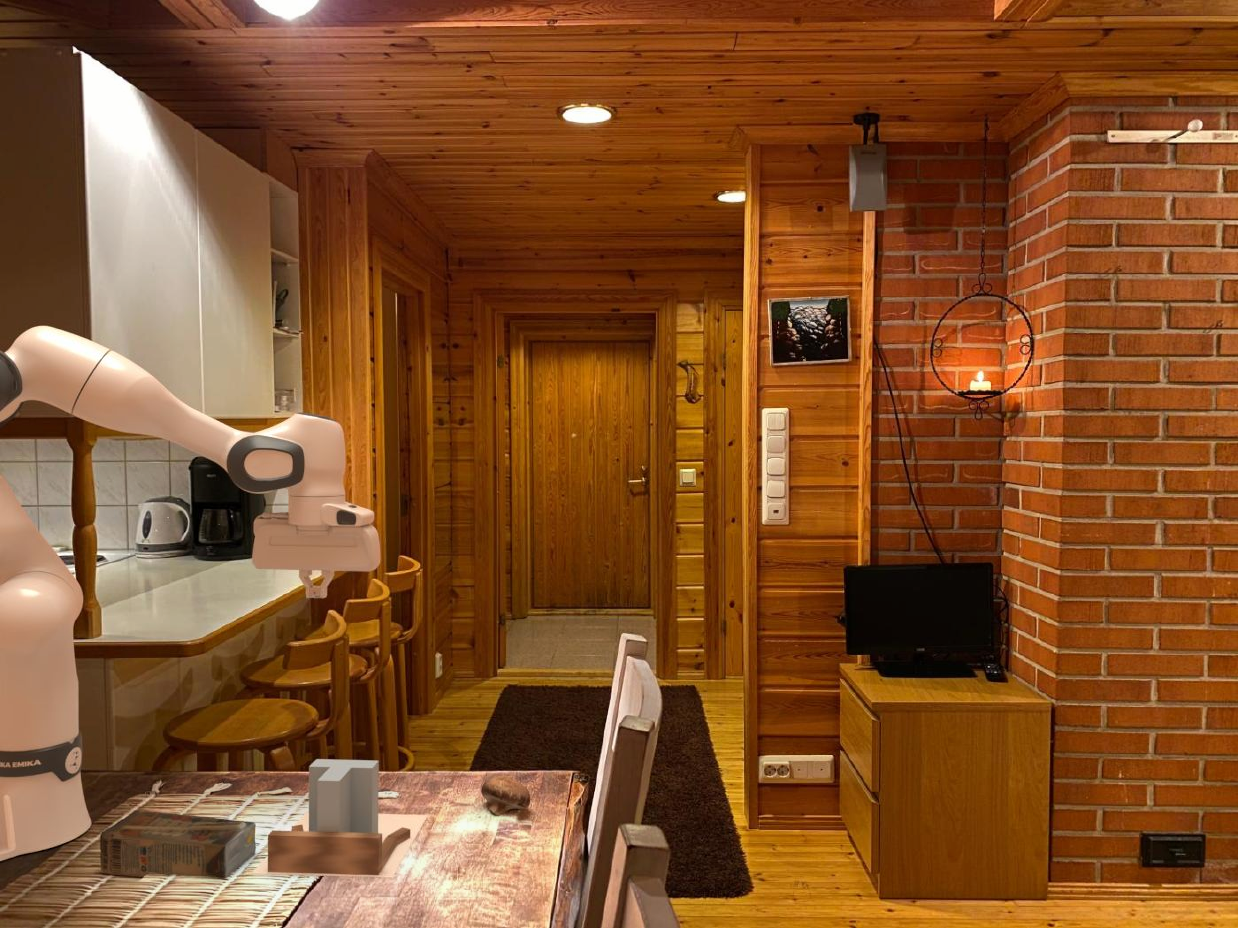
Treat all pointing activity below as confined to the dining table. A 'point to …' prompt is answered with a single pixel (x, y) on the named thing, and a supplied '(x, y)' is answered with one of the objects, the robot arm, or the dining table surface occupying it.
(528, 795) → the mushroom
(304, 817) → the board
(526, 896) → the dining table surface
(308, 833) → the dock fence
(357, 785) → the tee block
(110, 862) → the beverage carton
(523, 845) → the dining table surface
